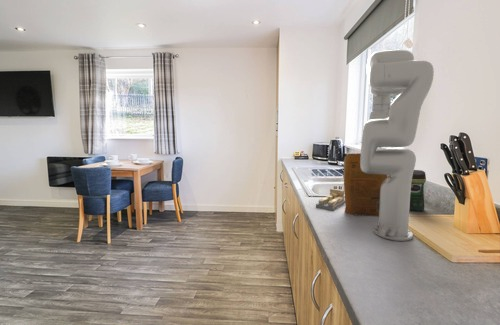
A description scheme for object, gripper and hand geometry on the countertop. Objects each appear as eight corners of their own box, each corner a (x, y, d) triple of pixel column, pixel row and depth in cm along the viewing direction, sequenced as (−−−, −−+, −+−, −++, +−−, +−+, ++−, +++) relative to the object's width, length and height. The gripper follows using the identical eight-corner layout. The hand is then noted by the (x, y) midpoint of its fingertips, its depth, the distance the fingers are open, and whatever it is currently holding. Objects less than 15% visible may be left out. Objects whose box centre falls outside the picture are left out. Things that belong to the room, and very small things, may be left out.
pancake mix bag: (389, 218, 113) (393, 153, 109) (342, 215, 117) (344, 153, 114) (385, 213, 120) (388, 151, 116) (341, 210, 124) (342, 151, 120)
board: (333, 210, 125) (333, 200, 124) (315, 207, 130) (316, 197, 130) (349, 200, 140) (349, 192, 139) (332, 198, 146) (332, 189, 145)
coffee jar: (421, 207, 127) (423, 169, 124) (425, 212, 119) (428, 171, 117) (398, 205, 130) (400, 168, 127) (401, 210, 123) (404, 171, 120)
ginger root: (332, 206, 126) (332, 196, 125) (318, 203, 130) (318, 194, 130) (343, 199, 137) (344, 190, 136) (330, 197, 141) (331, 188, 140)
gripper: (400, 108, 123) (398, 147, 126) (366, 109, 133) (365, 146, 135) (397, 107, 118) (394, 148, 120) (362, 109, 127) (360, 147, 130)
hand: (379, 147), depth 128 cm, fingers closed
